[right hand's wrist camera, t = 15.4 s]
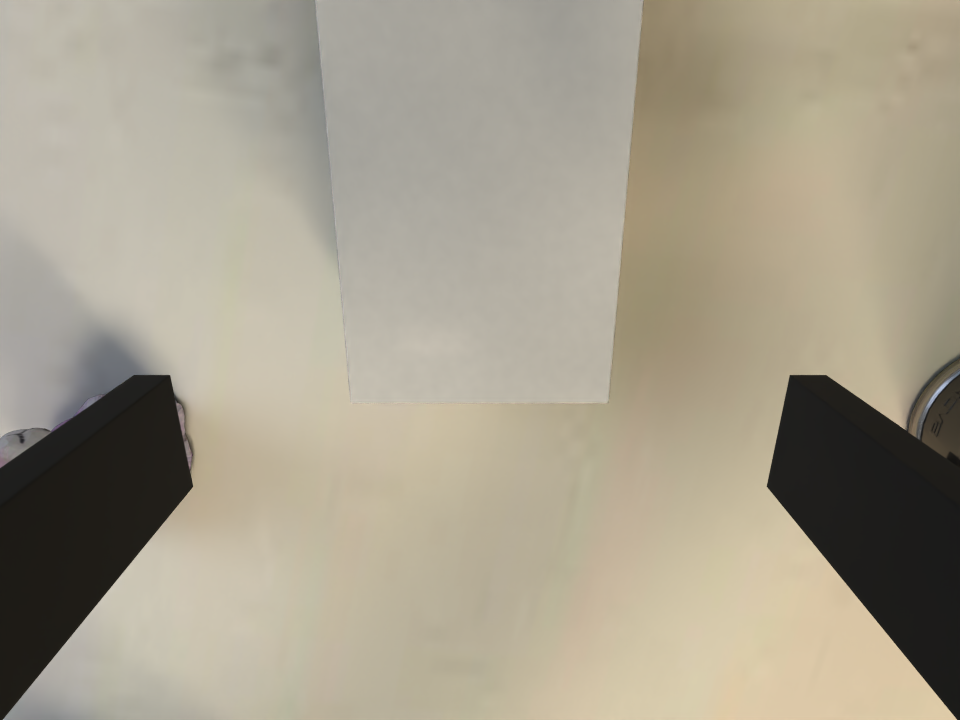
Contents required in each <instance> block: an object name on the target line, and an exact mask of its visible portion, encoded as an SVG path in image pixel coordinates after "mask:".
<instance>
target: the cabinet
mask: <svg viewBox="0 0 960 720" xmlns="http://www.w3.org/2000/svg"><path fill="white" fill-rule="evenodd" d="M643 3H644V0H315V6H316V18H317V29H318V40H319V51H320V63H321V74H322V85H323V97H324V108H325V119H326V131H327V142H328V153H329V164H330V176H331V187H332V198H333V210H334V221H335V232H336V244H337V255H338V266H339V277H340V289H341V300H342V311H343V323H344V334H345V345H346V357H347V368H348V379H349V391H350V402H351V403H352V404H448V403H608V402H609V394H610V382H611V371H612V359H613V348H614V336H615V325H616V313H617V302H618V290H619V279H620V267H621V256H622V244H623V233H624V221H625V210H626V198H627V187H628V175H629V164H630V152H631V141H632V129H633V118H634V106H635V95H636V83H637V72H638V60H639V49H640V37H641V26H642V14H643Z"/></svg>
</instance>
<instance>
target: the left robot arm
mask: <svg viewBox="0 0 960 720" xmlns="http://www.w3.org/2000/svg"><path fill="white" fill-rule="evenodd" d="M908 432H909V433H910V434H912V435H913V436H915V437H916V438H917V439H919V440H920V441H922V442H923V443H925V444H926V445H928V446H929V447H930V448H932V449H933V450H935V451H936V452H938V453H939V454H941V455H942V456H943V457H945V458H946V459H948V460H949V461H951V462H952V463H954V464H955V465H956V466H958V467H959V468H960V359H958V360H957V361H955V362H954V363H952V364H951V365H949V366H948V367H947V368H945V369H944V370H943V371H942V372H941V373H939V374H938V375H937V376H936V377H935V378H934V379H933V380H932V381H931V382H930V384H929V385H928V386H927V387H926V388H925V390H924V391H923V393H922V394H921V396H920V397H919V399H918V401H917V403H916V405H915V407H914V409H913V412H912V414H911V418H910V422H909V429H908Z"/></svg>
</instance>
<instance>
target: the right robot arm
mask: <svg viewBox="0 0 960 720" xmlns="http://www.w3.org/2000/svg"><path fill="white" fill-rule="evenodd" d="M192 487H193V483H192V479H191V474H190V469H189V464H188V459H187V454H186V450H185V445H184V440H183V435H182V430H181V426H180V421H179V416H178V411H177V406H176V401H175V397H174V392H173V387H172V382H171V377H170V375H133V376H132V377H131V378H129V379H128V380H126V381H125V382H123V383H122V384H120V385H119V386H118V387H116V388H115V389H113V390H112V391H110V392H109V393H107V394H106V395H105V396H103V397H102V398H100V399H99V400H97V401H96V402H95V403H93V404H92V405H90V406H89V407H87V408H86V409H84V410H83V411H82V412H80V413H79V414H77V415H76V416H74V417H73V418H71V419H70V420H69V421H67V422H66V423H64V424H63V425H61V426H60V427H58V428H57V429H56V430H54V431H53V432H51V433H50V434H48V435H47V436H45V437H44V438H43V439H41V440H40V441H38V442H37V443H35V444H34V445H32V446H31V447H30V448H28V449H27V450H25V451H24V452H22V453H21V454H19V455H18V456H17V457H15V458H14V459H12V460H11V461H9V462H8V463H6V464H5V465H4V466H2V467H1V468H0V720H3V719H4V717H5V716H6V715H7V714H8V713H9V711H10V710H11V709H12V708H13V706H14V705H15V704H16V703H17V702H18V700H19V699H20V698H21V697H22V695H23V694H24V693H25V692H26V691H27V689H28V688H29V687H30V686H31V684H32V683H33V682H34V681H35V680H36V678H37V677H38V676H39V675H40V673H41V672H42V671H43V670H44V668H45V667H46V666H47V665H48V664H49V662H50V661H51V660H52V659H53V657H54V656H55V655H56V654H57V653H58V651H59V650H60V649H61V648H62V646H63V645H64V644H65V643H66V642H67V640H68V639H69V638H70V637H71V635H72V634H73V633H74V632H75V631H76V629H77V628H78V627H79V626H80V624H81V623H82V622H83V621H84V620H85V618H86V617H87V616H88V615H89V613H90V612H91V611H92V610H93V609H94V607H95V606H96V605H97V604H98V602H99V601H100V600H101V599H102V597H103V596H104V595H105V594H106V593H107V591H108V590H109V589H110V588H111V586H112V585H113V584H114V583H115V582H116V580H117V579H118V578H119V577H120V575H121V574H122V573H123V572H124V571H125V569H126V568H127V567H128V566H129V564H130V563H131V562H132V561H133V560H134V558H135V557H136V556H137V555H138V553H139V552H140V551H141V550H142V549H143V547H144V546H145V545H146V544H147V542H148V541H149V540H150V539H151V537H152V536H153V535H154V534H155V533H156V531H157V530H158V529H159V528H160V526H161V525H162V524H163V523H164V522H165V520H166V519H167V518H168V517H169V515H170V514H171V513H172V512H173V511H174V509H175V508H176V507H177V506H178V504H179V503H180V502H181V501H182V500H183V498H184V497H185V496H186V495H187V493H188V492H189V491H190V490H191V489H192ZM767 487H768V489H769V490H770V491H771V492H772V493H773V495H774V496H775V497H776V498H777V500H778V501H779V502H780V503H781V504H782V506H783V507H784V508H785V509H786V511H787V512H788V513H789V514H790V515H791V517H792V518H793V519H794V520H795V522H796V523H797V524H798V525H799V526H800V528H801V529H802V530H803V531H804V533H805V534H806V535H807V536H808V538H809V539H810V540H811V541H812V542H813V544H814V545H815V546H816V547H817V549H818V550H819V551H820V552H821V553H822V555H823V556H824V557H825V558H826V560H827V561H828V562H829V563H830V564H831V566H832V567H833V568H834V569H835V571H836V572H837V573H838V574H839V575H840V577H841V578H842V579H843V580H844V582H845V583H846V584H847V585H848V586H849V588H850V589H851V590H852V591H853V593H854V594H855V595H856V596H857V597H858V599H859V600H860V601H861V602H862V604H863V605H864V606H865V607H866V609H867V610H868V611H869V612H870V613H871V615H872V616H873V617H874V618H875V620H876V621H877V622H878V623H879V624H880V626H881V627H882V628H883V629H884V631H885V632H886V633H887V634H888V635H889V637H890V638H891V639H892V640H893V642H894V643H895V644H896V645H897V646H898V648H899V649H900V650H901V651H902V653H903V654H904V655H905V656H906V657H907V659H908V660H909V661H910V662H911V664H912V665H913V666H914V667H915V668H916V670H917V671H918V672H919V673H920V675H921V676H922V677H923V678H924V680H925V681H926V682H927V683H928V684H929V686H930V687H931V688H932V689H933V691H934V692H935V693H936V694H937V695H938V697H939V698H940V699H941V700H942V702H943V703H944V704H945V705H946V706H947V708H948V709H949V710H950V711H951V713H952V714H953V715H954V716H955V717H956V719H957V720H960V468H959V467H958V466H956V465H955V464H954V463H952V462H951V461H949V460H948V459H946V458H945V457H943V456H942V455H941V454H939V453H938V452H936V451H935V450H933V449H932V448H930V447H929V446H928V445H926V444H925V443H923V442H922V441H920V440H919V439H917V438H916V437H915V436H913V435H912V434H910V433H909V432H907V431H906V430H904V429H903V428H902V427H900V426H899V425H897V424H896V423H894V422H893V421H891V420H890V419H889V418H887V417H886V416H884V415H883V414H881V413H880V412H878V411H877V410H876V409H874V408H873V407H871V406H870V405H868V404H867V403H865V402H864V401H863V400H861V399H860V398H858V397H857V396H855V395H854V394H853V393H851V392H850V391H848V390H847V389H845V388H844V387H842V386H841V385H840V384H838V383H837V382H835V381H834V380H832V379H831V378H829V377H828V376H827V375H790V377H789V382H788V387H787V392H786V397H785V401H784V406H783V411H782V416H781V421H780V426H779V430H778V435H777V440H776V445H775V450H774V454H773V459H772V464H771V469H770V474H769V479H768V483H767Z"/></svg>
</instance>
